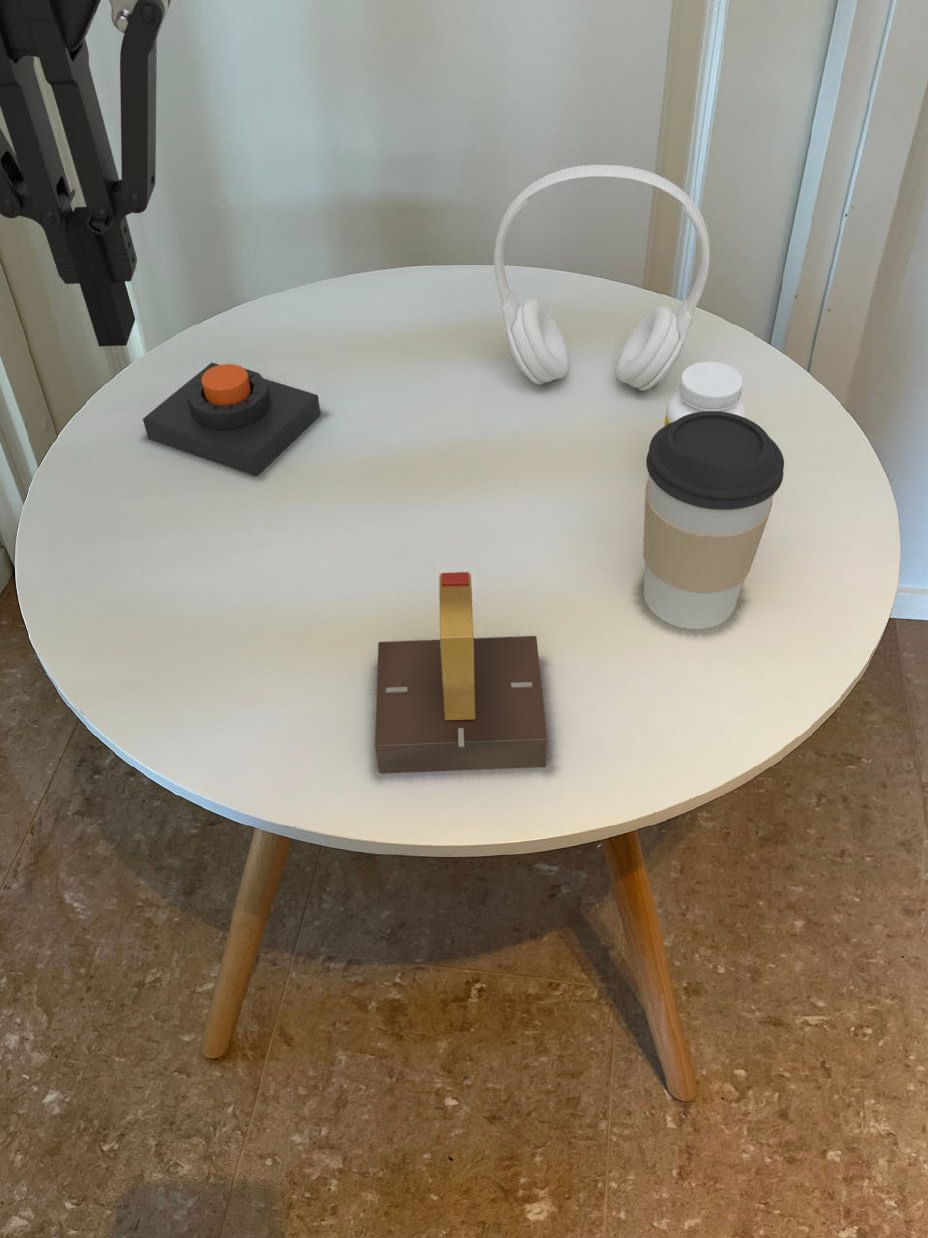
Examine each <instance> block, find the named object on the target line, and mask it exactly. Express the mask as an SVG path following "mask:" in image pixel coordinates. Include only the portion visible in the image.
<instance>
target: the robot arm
mask: <svg viewBox="0 0 928 1238" xmlns="http://www.w3.org/2000/svg"><path fill="white" fill-rule="evenodd" d="M108 1H109V3H110V7H111V15H110V18H111V22H112V24H113V26H114V27H115V28H116V30H117V31H119V32H121V33H122V34H123V37H122V40H121V45H120V51H119V52H120V53H119V84H120V85H119V86H120V87H119V89H120V91H119V93H120V94H119V95H120V155H121V156H120V157H121V158H120V159H121V161H120V162H121V163H120V164H121V179H120V177H119V174H118V170H117V166H116V163H115V159H114V155H113V150H112V146H111V143H110V140H109V136H108V131H107V128H106V124H105V120H104V117H103V113H102V109H101V106H100V102H99V98H98V93H97V90H96V87H95V84H94V79H93V75H92V72H91V68H90V54H89V53H90V52H89V48H88V44H87V40H86V36H87V35H88V33H89V30H90V28H91V26H92V23H93V21H94V18H95V16H96V13H97V11H98V8H99V5H100V4H101V0H0V110H1V114H2V116H3V119H4V122H5V126H6V128H7V132H8V136H9V138H10V141H11V144H12V146H11V144H10V143H9V141H8V139H7V137H6V135H5V133H4V132H3V130H2V129H1V127H0V215H1V216H2V217H4V218H7V219H16V218H17V217H23V218H25V219H29V220H32V221H34V222H36V223H37V224H38V225H39V226H40V227H41V229H42V230H43V232H44V234H45V237H46V240H47V243H48V246H49V249H50V253H51V255H52V257H53V258H52V259H53V262H54V264H55V268H56V271H57V275H58V276H59V278H60V279H61V281H63V283H64V285H72V284H73V285H77V284H79V286H80V291H81V293H82V296H83V299H84V302H85V306H86V308H87V312H88V315H89V316H88V317H89V319H90V322H91V325H92V328H93V332H94V335H95V338H96V341H97V344H98V347H121V346H122V347H124V346H125V347H126V346H127V345H128V342H129V339H130V336H131V334H132V331H133V328H134V326H135V321H136V316H135V313H134V308H133V305H132V302H131V298H130V294H129V290H128V287H127V284H126V283H127V282H132V279H133V276H134V273H135V271H136V269H137V261H138V258H137V257H138V256H137V252H136V250H135V245H134V242H133V238H132V234H131V230H130V226H129V223H128V220H127V216H128V215H130V214H132V213H133V214H141V213H144V212H145V210H147V208H148V206H149V203H150V201H151V200H150V199H151V198H152V194H153V192H154V189H155V187H156V177H157V175H156V173H157V172H156V171H157V170H156V168H157V167H156V166H157V164H156V162H157V161H156V159H157V157H156V156H157V65H158V64H157V59H158V58H157V56H158V54H157V53H158V51H157V50H158V49H157V48H158V46H157V45H158V36H159V34H160V31H161V28H162V26H163V23H164V21H165V18H166V15H167V13H168V9H169V8H170V5H171V1H172V0H108ZM35 58H38V59H39V62H40V63H39V64H40V66H41V69H42V73H43V75H44V78H45V79H44V80H45V81H46V82H47V83H48V84H49V85H50V87H51V90H52V94H53V97H54V100H55V104H56V107H57V110H58V111H57V112H58V115H59V118H60V121H61V124H62V127H63V128H62V129H63V131H64V134H65V138H66V141H67V145H68V149H69V151H70V155H71V159H72V163H73V165H74V168H75V172H76V176H77V179H78V183H79V185H80V189H81V193H82V197H83V199H84V204H85V206H75V207H74V208H72V203H73V200H74V198H75V196H76V189H75V188H74V189H72V190H71V189H70V186H69V182H68V178H67V175H66V171H65V168H64V165H63V161H62V158H61V155H60V151H59V148H58V144H57V141H56V137H55V135H54V130H53V128H52V127H53V126H52V124H51V121H50V117H49V114H48V111H47V108H46V104H45V101H44V96H43V93H42V90H41V87H40V83H39V79H38V76H37V72H36V69H35Z"/></svg>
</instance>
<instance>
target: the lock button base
mask: <svg viewBox="0 0 928 1238" xmlns="http://www.w3.org/2000/svg"><path fill="white" fill-rule="evenodd" d="M218 365H220V364H219V363H216V362H210V363H209V364H208V365H207V366H205V367H204V368H203V369H202V370H200V371H199V372H198V373H197V374H196V375H194V376H193V377H192V378H191V379H189V380H188V381H187V382H186V383H184V384H183V385H182V386H180V388H178V389H177V390H175V392H174V393H172V394H171V395H170V396H169V397H167V398H166V399H165V400H164V401H162V402H161V403H160V404H158V406H157V407H155V408H154V409H153V410H152V411H150V412H149V413H148V414H147V415H145V416H144V417H143V418H142V422H143V426H144V428H145V429H144V430H145V432H146V436H147V439H148V440H151V441H154V442H156V443H159V444H162V445H165V446H168V447H171V448H173V449H176V450H179V451H182V452H185V453H188V454H191V455H194V456H197V457H199V458H202V459H204V460H209V461H212V462H213V463H214V462H215V463H217V464H219V465H222V466H226V467H229V468H230V469H234V470H237V471H240V472H243V473H245V474H248V475H252V476H254V477H258V476H259V475H260V474H261V473H262V472H263V471H264V470H265V469H266V468H267V467H268V466H270V465H271V463H272V462H274V461H275V460H276V459H277V458H278V457H279V456H280V455H281V454H282V453H283V452H284V451H285V450H286V449H287V448H288V447H289V446H290V445H292V443H293V442H295V441H296V439H297V438H299V436H301V435H302V433H304V432H305V431H306V430H307V429H308V428H309V427H310V426H311V425H313V424H314V422H315V421H316V420H317V419H318V418H319V417H320V416H321V415H322V413H321V407H320V400H319V395H318V394H317V393H313V392H310V391H306V390H303V389H299V388H296V387H293V386H290V385H286V384H284V383H280V382H277V381H273V380H270V379H268V378H264V377H263V376H262V374H261V373H259V372H258V371H255V370H251V369H248V368H244V367H243V368H244V369H245V370H246V371H247V374H248V379H249V384H250V389H251V392H250V395H249V396H248V397H247V398H246V399H245V400H243V401H241V402H238V403H235V404H232V405H215V404H212V403H209V402H208V401H207V399H206V397H205V394H204V389H203V385H202V376H203V374H204V373H205V372H206V371H207V370H209V369H210V368H212V367H215V366H218Z"/></svg>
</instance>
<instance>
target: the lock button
mask: <svg viewBox="0 0 928 1238" xmlns="http://www.w3.org/2000/svg"><path fill="white" fill-rule="evenodd" d="M245 369H246V368H245ZM245 369H244V367H242V366H241V365H238V364H234V363H226V364H225V363H224V364H219V365H218V366H215V367H212V368H210V369H209V370H207V371H206V372H205V373H204V374H203V376H202V385H203V389H204V394H205V397H206V399H207V401H208V402H209V403H212V404H215V405H232V404H235V403H238V402H241V401H243V400H245V399H246V398H247V397H248V396H249V395H250V392H251V389H250V384H249V379H248V374H247V371H246V370H245Z"/></svg>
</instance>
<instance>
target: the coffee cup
mask: <svg viewBox="0 0 928 1238" xmlns="http://www.w3.org/2000/svg"><path fill="white" fill-rule="evenodd" d="M645 463H646V464H645V465H646V470H647V472H648V479H647V482H646V485H645V492H644V493H645V499H644V519H643V520H644V523H643V547H642V548H643V549H642V553H643V555H642V556H643V559H644V571H643V572H644V573H643V575H644V576H643V600H644V602H645V604H646V606H647V607H648V609H649V610H650V612H651V613H652V614H653V615H655V617H657V618H658V619H660V620H661V621H663V622H665V623H667V624H668V625H671V626H674V627H678V628H680V629H687V630H705V629H706V630H707V629H711V628H714V627H717V626H719V625H721V624H723V623H725V622H726V621H727V620H728V619H729V618H730V617H731V616H732V614H733V613H734V611H735V608H736V605H737V603H738V599H739V597H740V594H741V592H742V588H743V585H744V582H745V579H746V578H747V577H748V575H749V573H750V571H751V568H752V566H753V562H754V560H755V558H756V554H757V551H758V548H759V546H760V543H761V539H762V537H763V534H764V531H765V529H766V526H767V522H768V520H769V517H770V514H771V511H772V508H773V499H774V496H775V493H777V491H778V490H779V489H780V487H781V485H782V483H783V480H784V468H785V459H784V455H783V453H782V451H781V449H780V447H779V446H778V445H777V443H776V442H775V441H774V440H773V439H772V438H771V437H770V436H769V435H768V433H767V432H766V431H765V429H763V428H762V427H761V426H760V425H759V424H757V423H756V422H754V421H753V420H751V419H749V418H747V417H746V418H744V417H742V416H739V415H735V414H732V413H727V412H719V411H703V412H696V413H692V414H688V415H686V416H683V417H681V418H679V419H678V420H677V421H674V422H672V423H670V424H668V425H666V426H665V425H664V426H663V427H661V428H660V429H658V431H657V432H656V433H655V434H654V435H653V436H652V438H651V440H650V442H649V446H648V452H647V455H646V460H645Z"/></svg>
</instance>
